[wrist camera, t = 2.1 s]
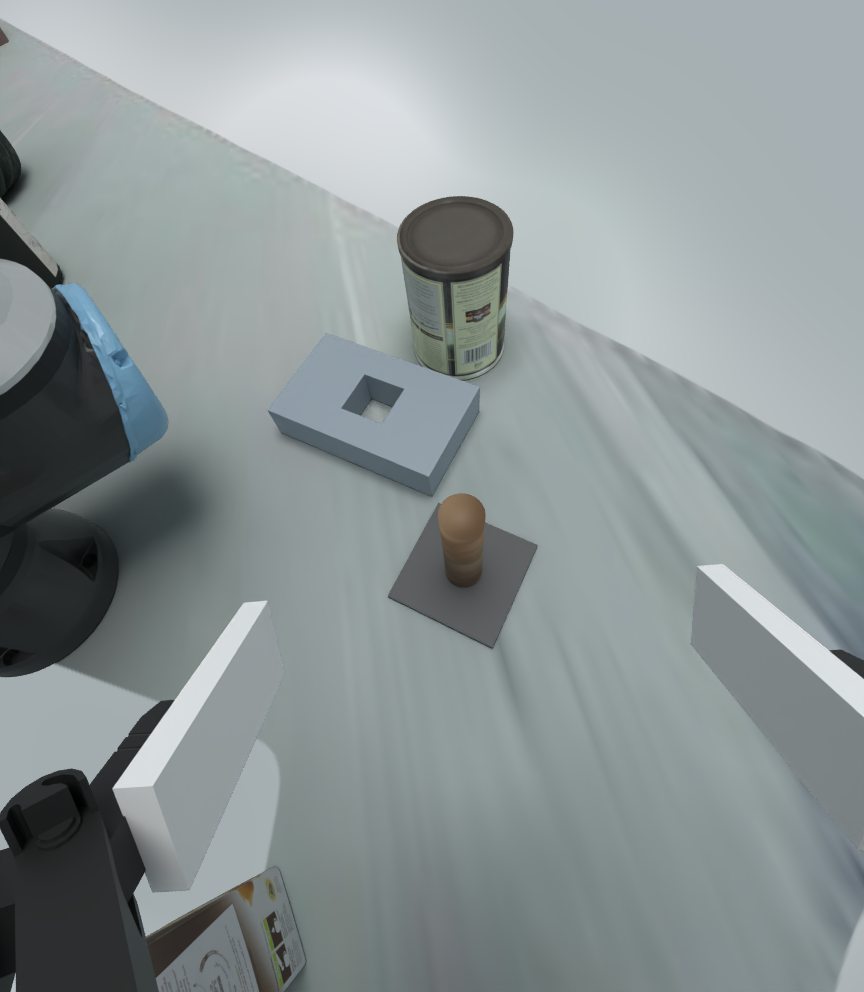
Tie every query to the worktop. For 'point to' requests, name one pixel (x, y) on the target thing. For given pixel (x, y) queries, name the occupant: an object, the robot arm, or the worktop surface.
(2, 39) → the tissue box cover
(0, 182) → the squash
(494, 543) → the mat
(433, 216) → the coffee can
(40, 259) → the wine bottle
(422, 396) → the socket board
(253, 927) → the coffee box
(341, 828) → the worktop surface
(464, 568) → the dowel
